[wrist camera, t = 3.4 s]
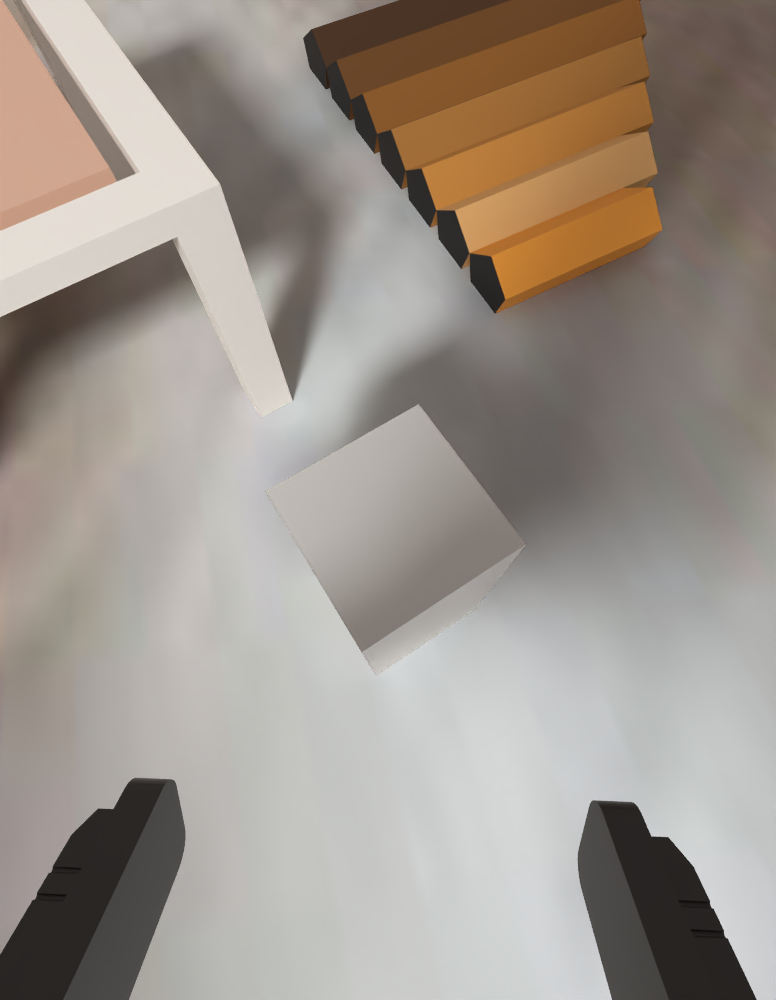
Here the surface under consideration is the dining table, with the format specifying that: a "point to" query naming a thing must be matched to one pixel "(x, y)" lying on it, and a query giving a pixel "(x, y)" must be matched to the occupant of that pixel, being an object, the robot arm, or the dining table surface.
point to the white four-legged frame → (136, 200)
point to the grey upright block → (397, 535)
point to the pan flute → (506, 128)
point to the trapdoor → (39, 136)
